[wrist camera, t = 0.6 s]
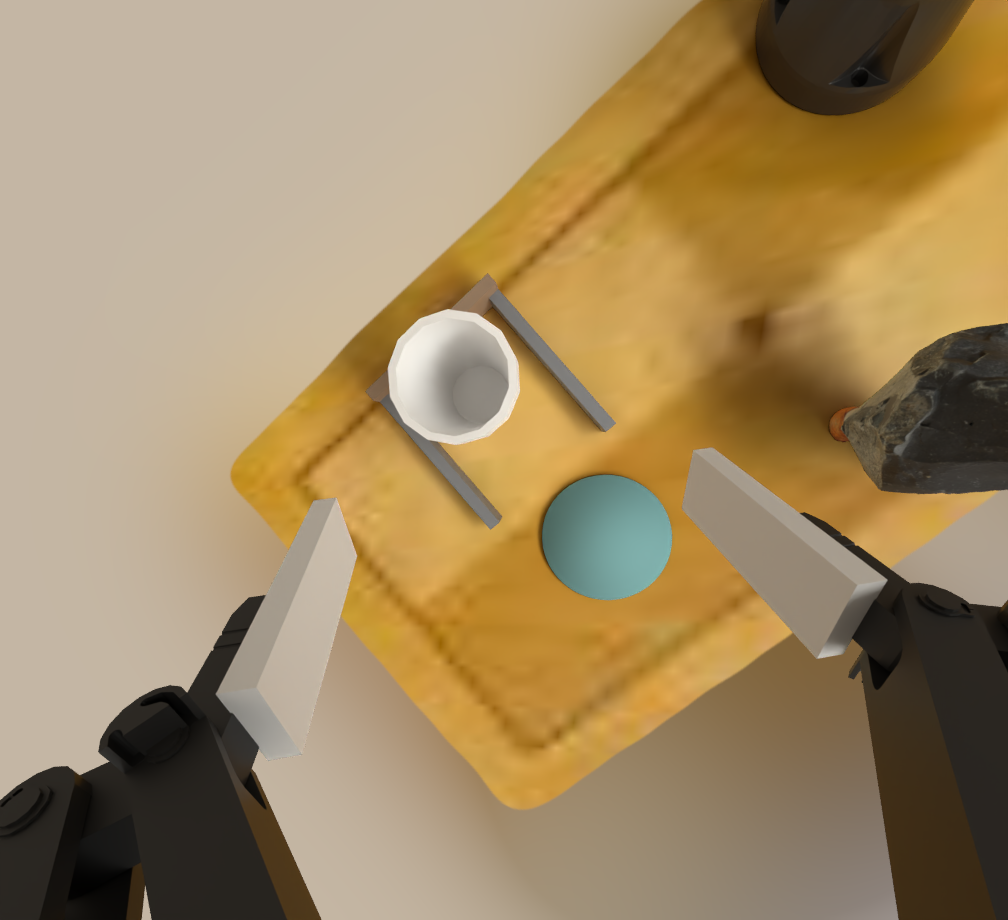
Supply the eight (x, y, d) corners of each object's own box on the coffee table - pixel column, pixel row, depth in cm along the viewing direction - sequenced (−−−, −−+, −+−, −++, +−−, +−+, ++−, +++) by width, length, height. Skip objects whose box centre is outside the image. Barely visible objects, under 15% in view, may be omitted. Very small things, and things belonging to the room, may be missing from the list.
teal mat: (613, 448, 39) (613, 448, 39) (698, 545, 39) (699, 546, 38) (516, 529, 41) (516, 530, 40) (597, 622, 40) (598, 624, 40)
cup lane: (493, 289, 39) (487, 273, 35) (611, 423, 39) (618, 422, 35) (382, 395, 41) (365, 391, 37) (493, 523, 41) (488, 533, 37)
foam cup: (505, 454, 40) (486, 464, 27) (425, 420, 41) (369, 415, 28) (540, 369, 39) (538, 337, 26) (458, 335, 40) (416, 289, 27)
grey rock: (873, 316, 36) (1200, 199, 18) (1003, 425, 35) (1475, 417, 17) (759, 431, 37) (954, 430, 20) (881, 537, 37) (1197, 635, 19)
